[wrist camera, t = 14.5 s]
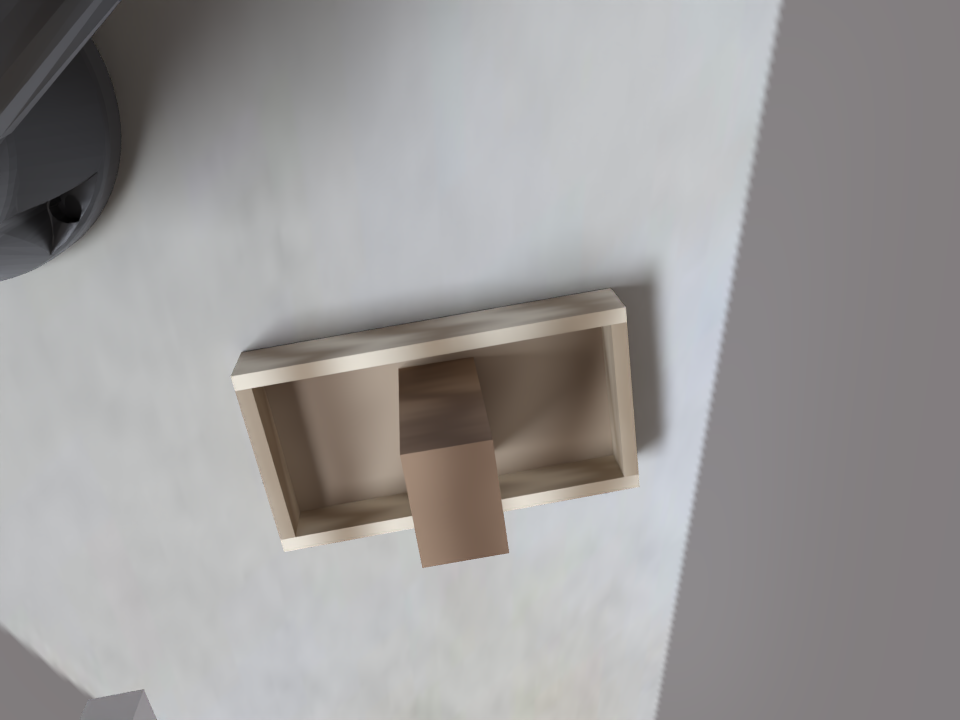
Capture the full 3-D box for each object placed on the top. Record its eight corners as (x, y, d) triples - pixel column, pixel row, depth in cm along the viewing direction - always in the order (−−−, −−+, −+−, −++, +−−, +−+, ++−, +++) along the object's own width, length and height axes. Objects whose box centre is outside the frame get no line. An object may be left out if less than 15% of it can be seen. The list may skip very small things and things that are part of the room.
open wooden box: (290, 519, 46) (284, 552, 43) (241, 352, 42) (230, 376, 39) (625, 458, 47) (639, 486, 44) (610, 287, 42) (625, 307, 39)
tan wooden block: (416, 465, 45) (422, 567, 36) (398, 368, 42) (399, 455, 34) (487, 453, 45) (509, 552, 37) (473, 356, 42) (492, 439, 34)
